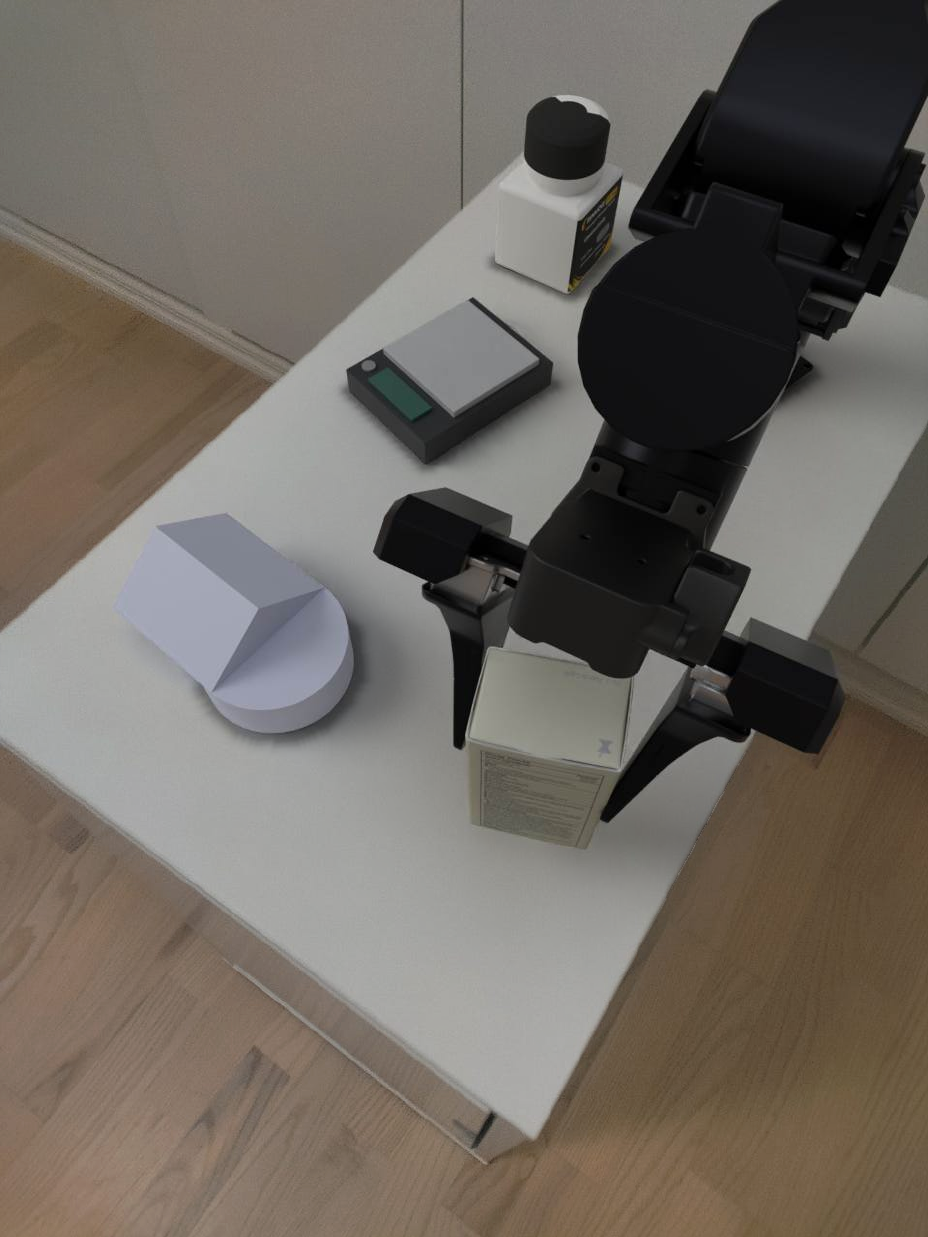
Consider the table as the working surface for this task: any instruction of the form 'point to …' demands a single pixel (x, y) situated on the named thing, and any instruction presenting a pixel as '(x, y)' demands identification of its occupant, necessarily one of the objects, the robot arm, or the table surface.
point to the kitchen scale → (449, 378)
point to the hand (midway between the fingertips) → (530, 781)
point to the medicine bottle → (559, 195)
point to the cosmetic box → (544, 746)
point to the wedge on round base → (241, 623)
